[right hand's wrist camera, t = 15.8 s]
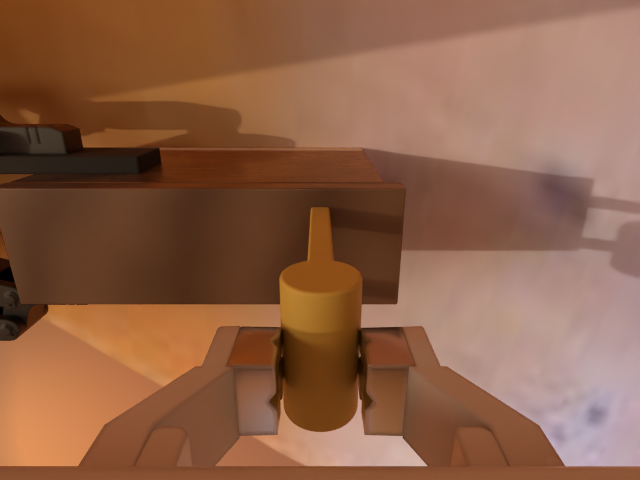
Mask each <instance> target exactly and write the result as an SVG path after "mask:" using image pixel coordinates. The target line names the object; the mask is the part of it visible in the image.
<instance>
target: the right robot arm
mask: <svg viewBox="0 0 640 480" xmlns="http://www.w3.org/2000/svg"><path fill="white" fill-rule="evenodd" d="M282 347H283V339H282V327H240V326H228V327H219V328H218V329H217V332H216V334H215V336H214V339H213V341H212V343H211V346H210V348H209V351H208V353H207V355H206V358H205V360H204V362H203V365H202V366H201V367H194V368H193V369H191V370H189V371H188V372H186V373H185V374H183V375H182V376H180V377H179V378H177V379H175V380H174V381H172V382H171V383H169V384H168V385H166V386H164V387H163V388H161V389H160V390H158V391H157V392H155V393H154V394H152V395H150V396H149V397H147V398H146V399H144V400H143V401H141V402H140V403H138V404H136V405H135V406H133V407H132V408H130V409H129V410H127V411H125V412H124V413H122V414H121V415H119V416H118V417H116V418H115V419H113V420H111V421H110V422H108V423H107V424H105V425H104V427H103V428H102V430H101V431H100V433H99V434H98V436H97V437H96V439H95V441H94V442H93V444H92V445H91V447H90V448H89V450H88V452H87V453H86V455H85V456H84V458H83V459H82V461H81V463H80V464H79V466H0V480H640V466H565V465H564V464H563V462H562V460H561V459H560V457H559V456H558V454H557V453H556V451H555V450H554V448H553V446H552V445H551V443H550V442H549V440H548V439H547V437H546V435H545V434H544V432H543V431H542V429H541V428H540V426H539V425H537V424H536V423H534V422H533V421H531V420H530V419H528V418H527V417H525V416H523V415H522V414H520V413H519V412H517V411H516V410H514V409H512V408H511V407H509V406H508V405H506V404H505V403H503V402H501V401H500V400H498V399H497V398H495V397H494V396H492V395H491V394H489V393H487V392H486V391H484V390H483V389H481V388H480V387H478V386H476V385H475V384H473V383H472V382H470V381H469V380H467V379H465V378H464V377H462V376H461V375H459V374H458V373H456V372H455V371H453V370H451V369H450V368H448V367H442V366H440V364H439V362H438V359H437V357H436V355H435V352H434V350H433V348H432V346H431V343H430V341H429V339H428V336H427V334H426V332H425V330H424V328H423V327H422V326H412V327H379V328H360V335H359V348H360V355H361V356H360V357H359V360H358V386H359V396H360V399H361V400H362V419H363V427H364V434H365V435H388V436H403V439H404V440H405V441H406V442H407V443H408V444H409V445H410V446H411V448H412V449H413V450H414V451H415V452H416V453H417V454H418V455H419V457H420V458H421V459H422V460H423V461H424V462H425V463H426V464H427V466H215V465H216V464H217V463H218V462H219V461H220V459H221V458H222V457H223V456H224V455H225V454H226V453H227V452H228V450H229V449H230V448H231V447H232V446H233V445H234V444H235V443H236V441H237V440H238V439H239V436H254V435H278V428H279V420H280V413H281V412H280V400H281V399H282V396H283V383H284V366H283V358H282V356H281V355H282Z"/></svg>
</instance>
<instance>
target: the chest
mask: <svg viewBox="0 0 640 480" xmlns="http://www.w3.org/2000/svg"><path fill="white" fill-rule="evenodd" d="M118 148H160V155H161V163H160V164H158V165H156V166H154V167H152V168H150V169H148V170H146V171H144V172H142V173H140V174H49V173H37V174H34V175H31V176H28V177H25V178H22V179H18V180H15V181H12V182H10V183H384V181H383V180H382V178H381V177H380V175H379V174H378V172H377V171H376V169H375V168H374V166H373V165H372V163H371V162H370V160H369V159H368V158H367V156H366V155H365V153H364V150H363V149H362V148H165V147H118Z"/></svg>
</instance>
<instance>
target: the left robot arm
mask: <svg viewBox="0 0 640 480" xmlns="http://www.w3.org/2000/svg"><path fill="white" fill-rule="evenodd" d="M160 163H161V155H160V148H83V145H82V140H81V134H80V129H79V128H76V127H74V126H71V125H68V124H13V123H10V122H8V121H6V120H5V119H4V118H3V117H2V116H1V115H0V174H37V173H49V174H140V173H142V172H144V171H146V170H148V169H150V168H152V167H154V166H156V165H158V164H160ZM48 305H67V304H21V302H20V298H19V295H18V291H17V287H16V284H15V280H14V276H13V273H12V269H11V266H10V262H9V260H7V259H2V258H0V341H11V340H15V339H17V338H18V337H19V336H20V335H22V334H23V333H24V332H25V331H26V330H28V329H29V328H30V327H31V326H32V325H34V324H35V323H36V322H37V321H38V320H40V319H41V318H42V317H43V316H44V315H45V314H47V312H48ZM68 305H75V304H68ZM76 305H87V304H76Z"/></svg>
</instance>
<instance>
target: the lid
mask: <svg viewBox="0 0 640 480" xmlns="http://www.w3.org/2000/svg"><path fill="white" fill-rule="evenodd" d="M405 193H406V189H405V188H404V187H403V185H402V184H400V183H5V184H2V185H0V229H1V233H2V236H3V240H4V244H5V247H6V251H7V255H8V258H9V262H10V266H11V269H12V273H13V276H14V280H15V284H16V287H17V291H18V295H19V298H20V302H21V304H280V311H281V327H282V339H283V347H282V358H283V366H284V383H283V398H284V410H285V412H286V414H287V416H288V418H289V419H290V420H291V421H292V422H293V423H294V424H296V425H297V426H299V427H301V428H303V429H306V430H309V431H315V432H327V431H332V430H336V429H338V428H341V427H343V426H344V425H346V424H347V423H348V422H349V421H350V420H351V419H352V418H353V416H354V415H355V413H356V410H357V404H358V360H359V355H360V348H359V335H360V328H361V305H362V304H397V301H398V288H399V274H400V261H401V247H402V234H403V220H404V206H405Z"/></svg>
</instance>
